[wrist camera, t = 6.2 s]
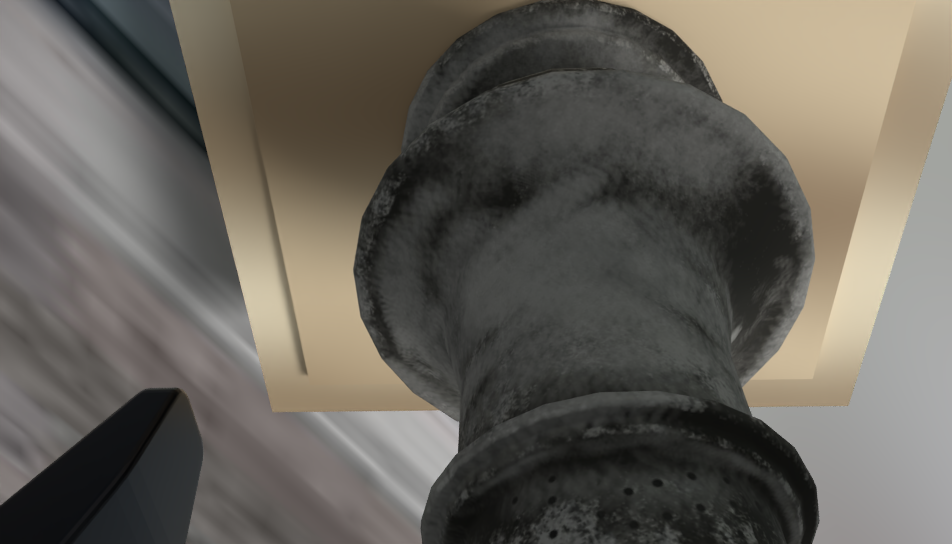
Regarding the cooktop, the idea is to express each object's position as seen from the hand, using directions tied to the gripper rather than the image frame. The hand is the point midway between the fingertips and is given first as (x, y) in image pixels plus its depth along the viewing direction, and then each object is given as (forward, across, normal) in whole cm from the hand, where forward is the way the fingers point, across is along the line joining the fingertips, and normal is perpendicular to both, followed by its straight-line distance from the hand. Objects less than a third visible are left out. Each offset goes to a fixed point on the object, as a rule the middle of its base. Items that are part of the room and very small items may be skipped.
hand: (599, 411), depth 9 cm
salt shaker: (+6, 0, 0) cm, 6 cm away
